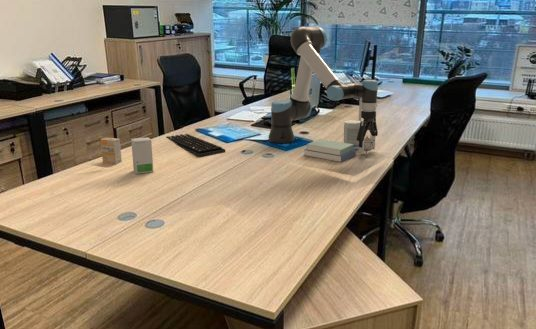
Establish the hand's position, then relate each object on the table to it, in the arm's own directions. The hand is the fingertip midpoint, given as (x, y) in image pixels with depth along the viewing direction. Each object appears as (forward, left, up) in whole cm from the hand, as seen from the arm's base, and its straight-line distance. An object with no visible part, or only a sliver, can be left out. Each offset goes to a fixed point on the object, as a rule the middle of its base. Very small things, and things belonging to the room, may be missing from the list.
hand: (366, 150), depth 235 cm
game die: (0, 0, -2) cm, 2 cm away
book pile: (-14, -14, -2) cm, 20 cm away
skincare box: (-71, -89, -2) cm, 114 cm away
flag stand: (-29, +49, -2) cm, 57 cm away
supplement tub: (-12, +7, -2) cm, 14 cm away
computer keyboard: (-85, -45, -2) cm, 96 cm away
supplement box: (-93, -91, -2) cm, 130 cm away
